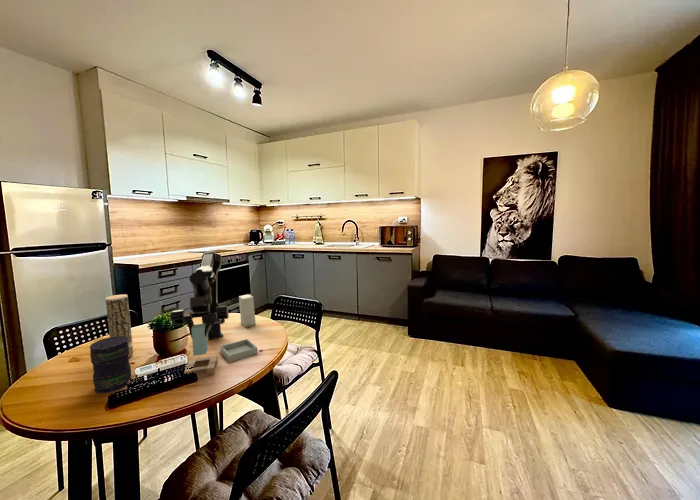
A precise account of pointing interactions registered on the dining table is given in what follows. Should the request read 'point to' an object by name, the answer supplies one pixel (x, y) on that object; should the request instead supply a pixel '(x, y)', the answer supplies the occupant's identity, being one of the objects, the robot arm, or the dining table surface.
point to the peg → (199, 339)
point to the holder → (202, 366)
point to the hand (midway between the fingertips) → (198, 336)
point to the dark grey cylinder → (110, 364)
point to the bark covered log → (119, 318)
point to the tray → (238, 350)
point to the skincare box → (247, 310)
